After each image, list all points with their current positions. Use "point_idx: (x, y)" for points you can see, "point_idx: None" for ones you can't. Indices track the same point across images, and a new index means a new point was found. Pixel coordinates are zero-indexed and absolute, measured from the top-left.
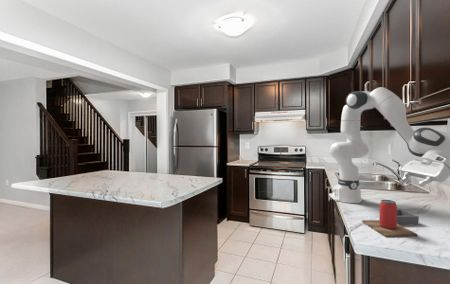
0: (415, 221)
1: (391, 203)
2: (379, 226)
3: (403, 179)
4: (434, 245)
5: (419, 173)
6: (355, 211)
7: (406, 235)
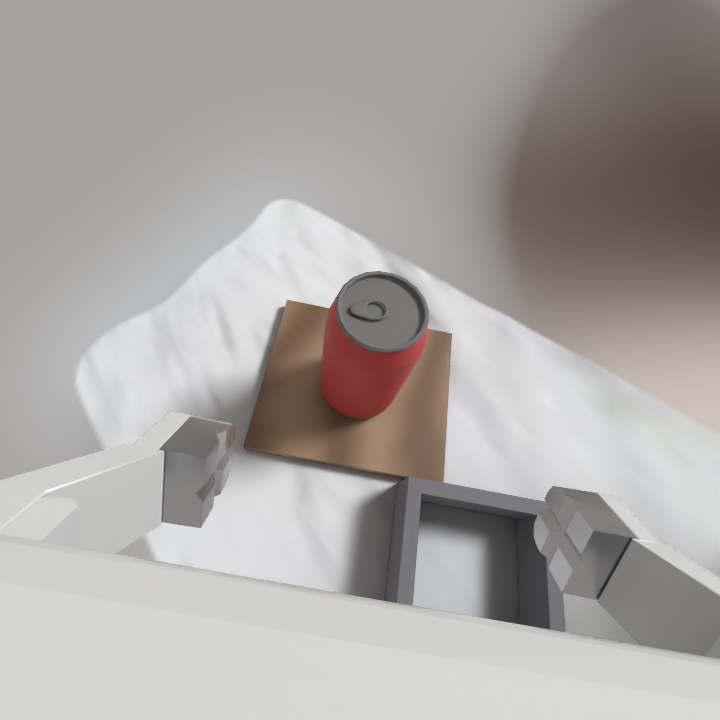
0: None
1: (339, 293)
2: None
3: (567, 488)
4: (146, 430)
5: (316, 589)
6: (609, 428)
7: (261, 392)
